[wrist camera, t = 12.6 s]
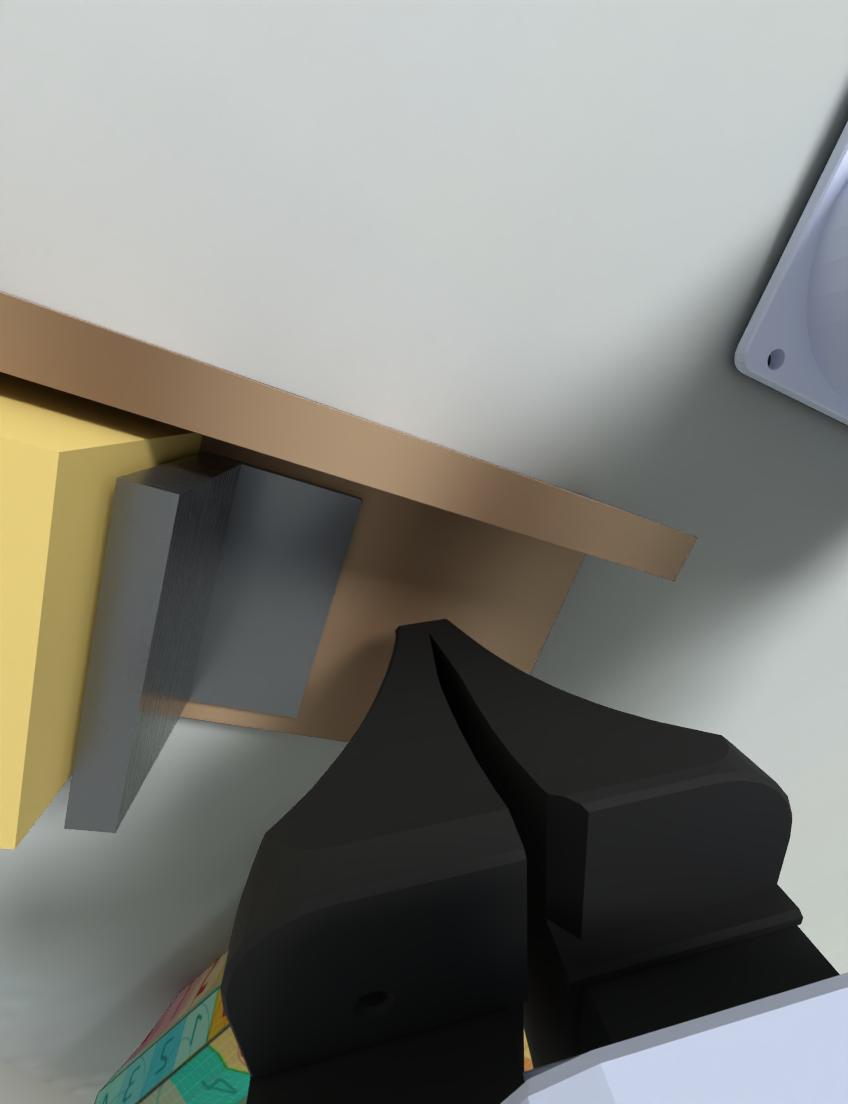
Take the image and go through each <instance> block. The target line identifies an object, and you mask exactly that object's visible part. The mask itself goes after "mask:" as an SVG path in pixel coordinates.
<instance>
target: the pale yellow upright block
mask: <svg viewBox="0 0 848 1104" xmlns="http://www.w3.org/2000/svg"><path fill="white" fill-rule="evenodd" d="M201 440H202V434H199V433H196V432H193V431H190V430H186V429H183V428H180V427H177V426H174V425H170V424H167V423H164V422H161V421H157V420H154V419H151V418H148V417H145V416H141V415H138V414H135V413H132V412H128V411H125V410H122V409H119V408H116V407H112V406H109V405H106V404H103V403H100V402H96V401H93V400H90V399H87V398H83V397H80V396H77V395H74V394H71V393H67V392H64V391H61V390H58V389H55V388H51V387H48V386H45V385H42V384H38V383H35V382H32V381H29V380H26V379H22V378H19V377H16V376H13V375H9V374H6V373H3V372H0V848H3V849H15V848H16V847H17V846H18V844H19V843H20V842H21V840H22V839H23V838H24V836H25V835H26V834H27V832H28V831H29V830H30V828H31V827H32V826H33V825H34V823H35V822H36V821H37V819H38V818H39V817H40V815H41V814H42V813H43V811H44V810H45V809H46V807H47V806H48V805H49V804H50V802H51V801H52V800H53V798H54V797H55V796H56V794H57V793H58V792H59V790H60V789H61V788H62V786H63V785H64V784H65V783H66V781H67V780H68V779H69V777H70V776H71V775H72V773H73V766H74V760H75V753H76V746H77V740H78V733H79V726H80V720H81V713H82V706H83V699H84V693H85V686H86V679H87V673H88V666H89V659H90V652H91V646H92V639H93V632H94V626H95V619H96V612H97V606H98V599H99V592H100V585H101V579H102V572H103V565H104V559H105V552H106V545H107V539H108V532H109V525H110V518H111V512H112V505H113V498H114V492H115V485H116V478H117V477H120V476H124V475H127V474H131V473H134V472H138V471H141V470H145V469H148V468H151V467H155V466H158V465H162V464H165V463H169V462H172V461H176V460H179V459H183V458H186V457H189V456H193V455H196V454H199V450H200V445H201Z"/></svg>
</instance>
